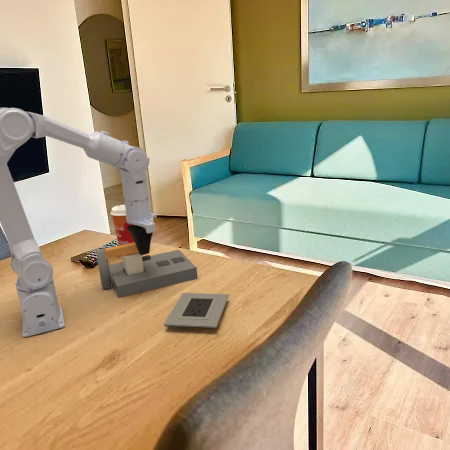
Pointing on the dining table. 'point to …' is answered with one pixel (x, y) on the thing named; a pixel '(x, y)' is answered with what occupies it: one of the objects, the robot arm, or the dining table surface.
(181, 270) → the power block
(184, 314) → the electrical outlet
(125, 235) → the paper cup
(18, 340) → the dining table surface
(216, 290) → the dining table surface
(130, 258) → the plug
